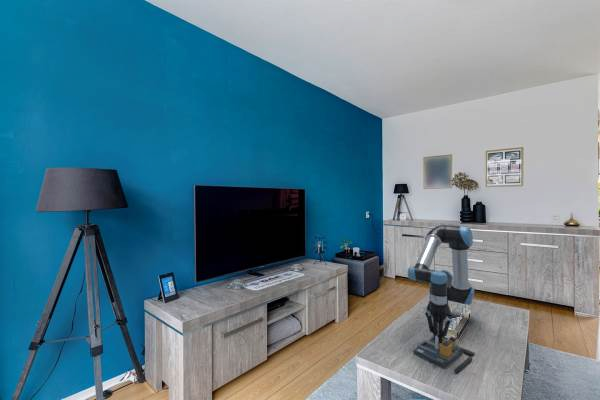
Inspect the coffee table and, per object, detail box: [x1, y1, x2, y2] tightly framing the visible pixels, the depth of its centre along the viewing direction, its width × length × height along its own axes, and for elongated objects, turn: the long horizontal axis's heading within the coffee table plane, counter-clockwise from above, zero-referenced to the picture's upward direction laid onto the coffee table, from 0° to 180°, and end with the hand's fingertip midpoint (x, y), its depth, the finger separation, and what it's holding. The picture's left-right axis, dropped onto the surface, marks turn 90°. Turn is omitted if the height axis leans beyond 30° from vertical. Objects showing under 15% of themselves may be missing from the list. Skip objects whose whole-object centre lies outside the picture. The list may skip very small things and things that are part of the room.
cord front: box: [442, 338, 475, 358], centre depth 151 cm, size 3×21×2 cm, turn 37°
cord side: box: [453, 356, 473, 374], centre depth 134 cm, size 17×2×2 cm, turn 127°
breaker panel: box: [413, 335, 463, 370], centre depth 144 cm, size 19×16×9 cm
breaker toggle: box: [440, 342, 452, 358], centre depth 139 cm, size 4×4×7 cm
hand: (437, 347), depth 142 cm, fingers closed
